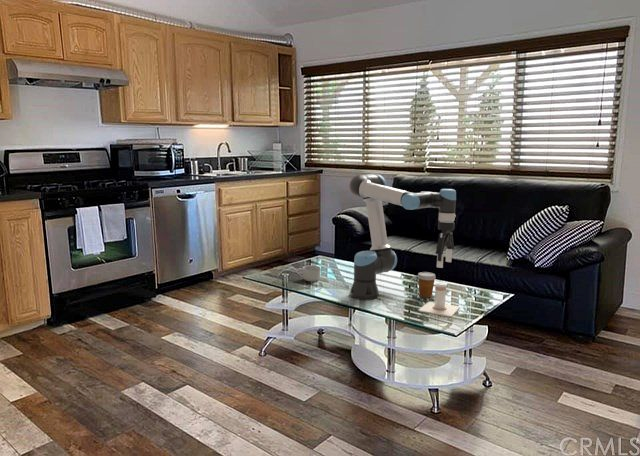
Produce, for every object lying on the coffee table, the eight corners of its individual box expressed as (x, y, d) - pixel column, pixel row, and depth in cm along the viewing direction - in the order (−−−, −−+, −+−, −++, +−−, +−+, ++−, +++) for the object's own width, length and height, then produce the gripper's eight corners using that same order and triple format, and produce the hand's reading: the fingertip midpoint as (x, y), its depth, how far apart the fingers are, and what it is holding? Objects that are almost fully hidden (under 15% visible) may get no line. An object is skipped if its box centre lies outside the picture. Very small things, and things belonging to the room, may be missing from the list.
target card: (418, 311, 238) (418, 309, 238) (428, 302, 252) (428, 301, 252) (451, 317, 230) (451, 315, 230) (460, 307, 244) (460, 306, 244)
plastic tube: (432, 308, 240) (434, 284, 238) (436, 305, 244) (437, 282, 242) (443, 310, 238) (444, 286, 236) (446, 307, 242) (447, 284, 240)
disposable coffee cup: (417, 298, 259) (418, 276, 257) (416, 292, 268) (417, 271, 266) (435, 299, 258) (436, 276, 256) (433, 293, 267) (435, 272, 265)
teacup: (320, 278, 296) (320, 265, 295) (320, 283, 286) (320, 269, 284) (297, 277, 297) (297, 264, 295) (296, 282, 286) (296, 269, 285)
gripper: (446, 225, 223) (443, 271, 226) (461, 219, 244) (459, 260, 247) (430, 224, 227) (427, 268, 230) (446, 217, 248) (444, 258, 251)
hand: (444, 264), depth 239 cm, fingers open, 13 cm apart
